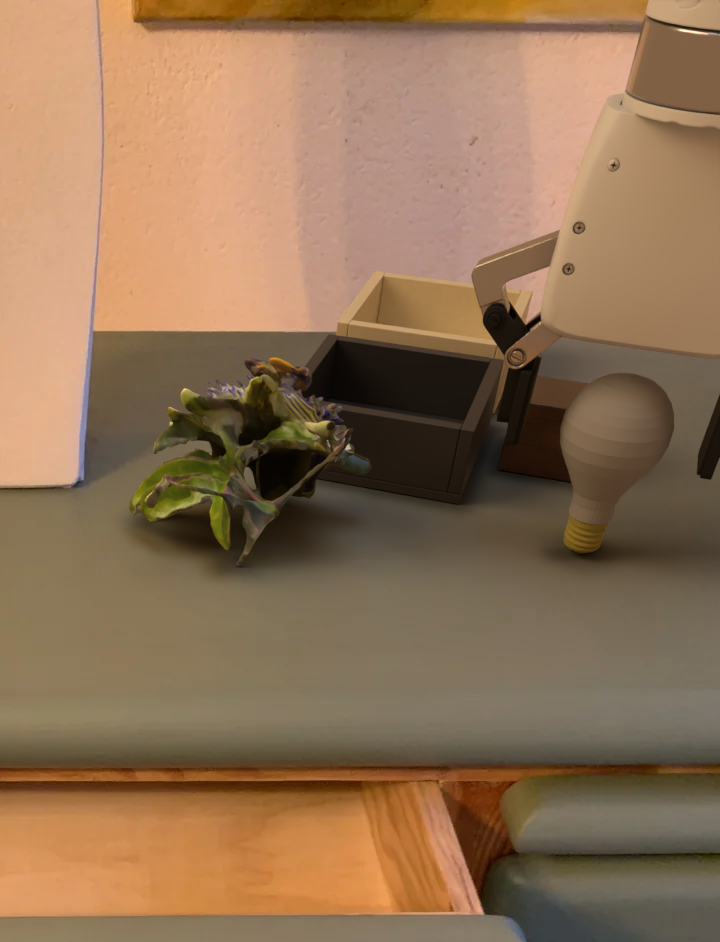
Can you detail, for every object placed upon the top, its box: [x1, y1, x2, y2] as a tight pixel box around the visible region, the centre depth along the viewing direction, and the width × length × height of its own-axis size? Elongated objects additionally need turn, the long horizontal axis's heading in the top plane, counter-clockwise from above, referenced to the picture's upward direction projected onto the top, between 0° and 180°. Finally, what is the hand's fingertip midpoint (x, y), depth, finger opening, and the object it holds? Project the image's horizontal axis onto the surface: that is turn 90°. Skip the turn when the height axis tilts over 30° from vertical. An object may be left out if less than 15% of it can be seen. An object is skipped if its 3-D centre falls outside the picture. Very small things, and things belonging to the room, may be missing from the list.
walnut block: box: [497, 375, 590, 483], centre depth 72 cm, size 4×4×4 cm
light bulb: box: [560, 372, 675, 555], centre depth 61 cm, size 6×5×10 cm
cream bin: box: [335, 270, 533, 415], centre depth 83 cm, size 12×12×5 cm
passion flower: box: [128, 357, 371, 567], centre depth 64 cm, size 11×11×12 cm
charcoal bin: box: [301, 333, 504, 505], centre depth 73 cm, size 12×12×5 cm
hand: (606, 451), depth 61 cm, fingers open, 9 cm apart
